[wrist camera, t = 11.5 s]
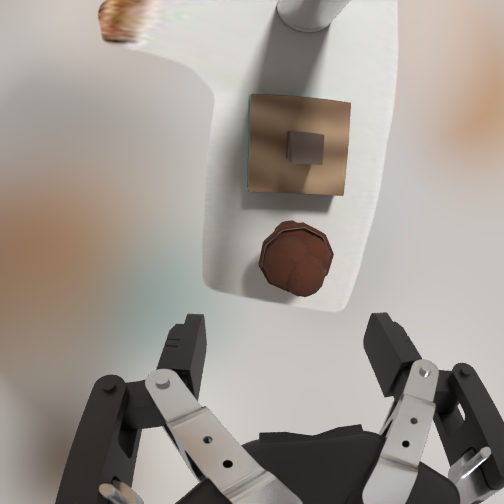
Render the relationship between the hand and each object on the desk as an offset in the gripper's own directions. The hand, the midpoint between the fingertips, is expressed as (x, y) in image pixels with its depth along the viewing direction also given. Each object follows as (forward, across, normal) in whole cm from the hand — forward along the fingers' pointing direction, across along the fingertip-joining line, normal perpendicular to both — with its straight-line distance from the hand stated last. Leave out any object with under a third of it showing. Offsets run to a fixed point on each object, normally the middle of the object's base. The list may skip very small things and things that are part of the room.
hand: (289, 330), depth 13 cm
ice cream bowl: (+37, -5, +9) cm, 38 cm away
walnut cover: (+35, -5, -7) cm, 36 cm away
